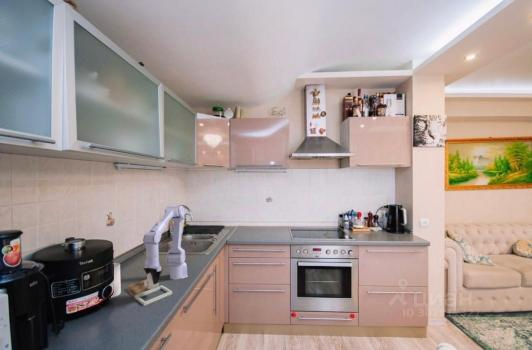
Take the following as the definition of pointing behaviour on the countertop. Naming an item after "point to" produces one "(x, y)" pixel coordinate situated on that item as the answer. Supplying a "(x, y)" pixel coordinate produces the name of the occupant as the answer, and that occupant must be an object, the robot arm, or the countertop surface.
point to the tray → (153, 298)
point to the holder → (137, 288)
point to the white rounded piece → (150, 282)
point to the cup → (116, 280)
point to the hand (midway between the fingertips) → (153, 282)
